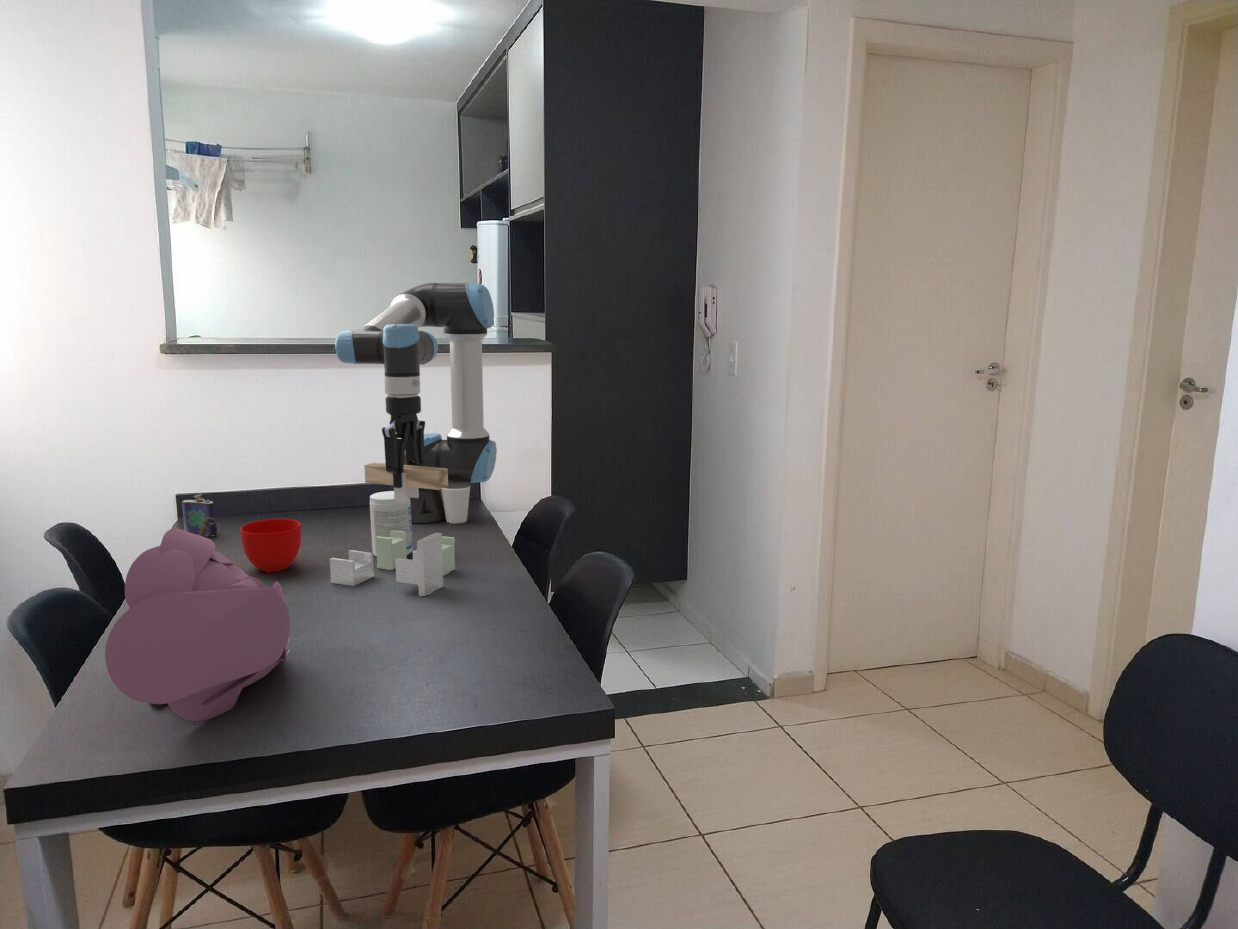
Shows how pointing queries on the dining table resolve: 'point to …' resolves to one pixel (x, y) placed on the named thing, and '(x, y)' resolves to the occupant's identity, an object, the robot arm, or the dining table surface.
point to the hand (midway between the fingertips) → (406, 499)
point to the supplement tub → (390, 517)
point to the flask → (199, 515)
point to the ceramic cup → (271, 543)
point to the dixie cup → (456, 502)
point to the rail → (408, 476)
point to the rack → (397, 549)
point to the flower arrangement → (194, 629)
